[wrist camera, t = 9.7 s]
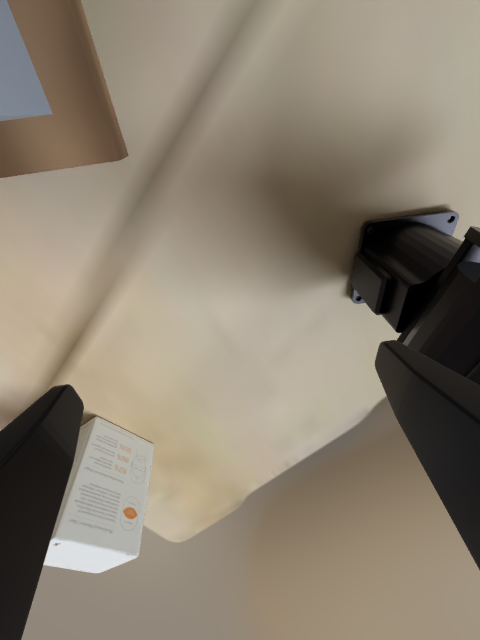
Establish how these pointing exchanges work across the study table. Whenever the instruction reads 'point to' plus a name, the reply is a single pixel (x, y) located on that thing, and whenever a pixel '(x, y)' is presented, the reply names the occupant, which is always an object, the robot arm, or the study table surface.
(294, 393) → the study table surface
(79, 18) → the walnut slab
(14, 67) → the blue cube
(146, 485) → the small box
